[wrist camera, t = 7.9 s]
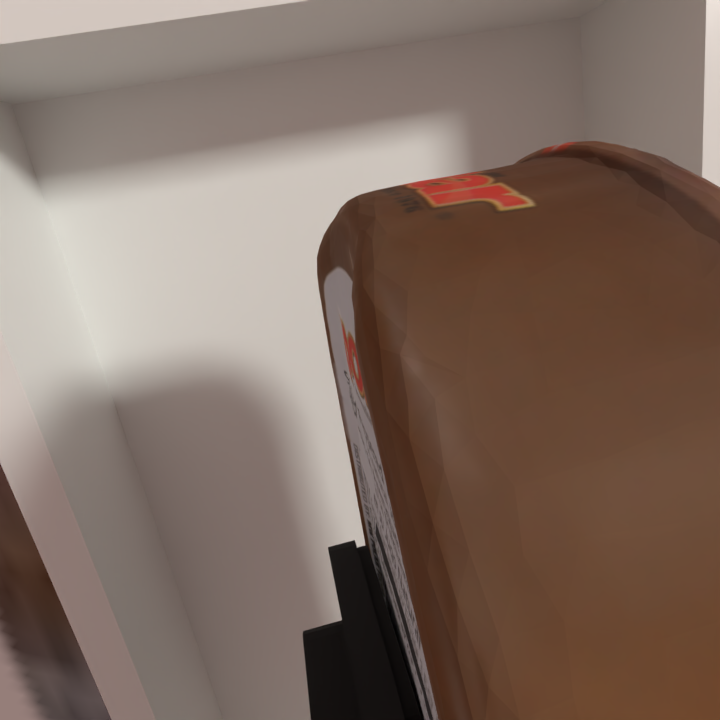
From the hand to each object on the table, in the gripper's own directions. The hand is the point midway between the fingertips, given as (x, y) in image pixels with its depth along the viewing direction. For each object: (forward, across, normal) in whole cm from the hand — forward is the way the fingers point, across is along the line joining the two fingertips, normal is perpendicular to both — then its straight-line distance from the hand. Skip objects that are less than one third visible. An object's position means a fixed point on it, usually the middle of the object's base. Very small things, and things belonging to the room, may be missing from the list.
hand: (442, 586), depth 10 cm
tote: (+5, 0, 0) cm, 5 cm away
